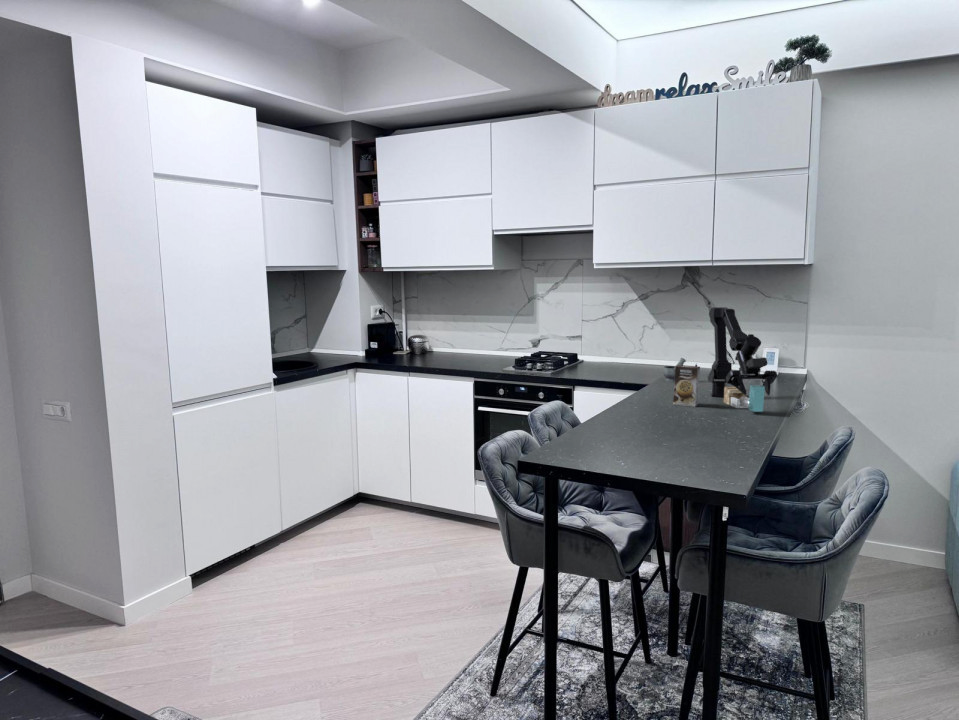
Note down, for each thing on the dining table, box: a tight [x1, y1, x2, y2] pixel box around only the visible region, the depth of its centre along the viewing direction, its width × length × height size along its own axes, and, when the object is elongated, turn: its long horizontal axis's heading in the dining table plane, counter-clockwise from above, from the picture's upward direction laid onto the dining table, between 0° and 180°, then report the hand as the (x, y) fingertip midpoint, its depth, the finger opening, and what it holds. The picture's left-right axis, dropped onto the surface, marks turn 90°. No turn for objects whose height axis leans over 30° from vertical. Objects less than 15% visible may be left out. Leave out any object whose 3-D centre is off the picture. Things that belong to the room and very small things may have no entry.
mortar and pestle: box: [662, 357, 687, 383], centre depth 334 cm, size 11×9×12 cm
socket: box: [723, 386, 747, 406], centre depth 279 cm, size 5×7×7 cm
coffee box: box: [672, 364, 701, 407], centre depth 275 cm, size 9×6×16 cm
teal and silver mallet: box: [739, 384, 766, 412], centre depth 264 cm, size 14×4×10 cm, turn 3°
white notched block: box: [730, 396, 749, 409], centre depth 273 cm, size 6×6×3 cm
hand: (757, 394), depth 259 cm, fingers open, 9 cm apart
